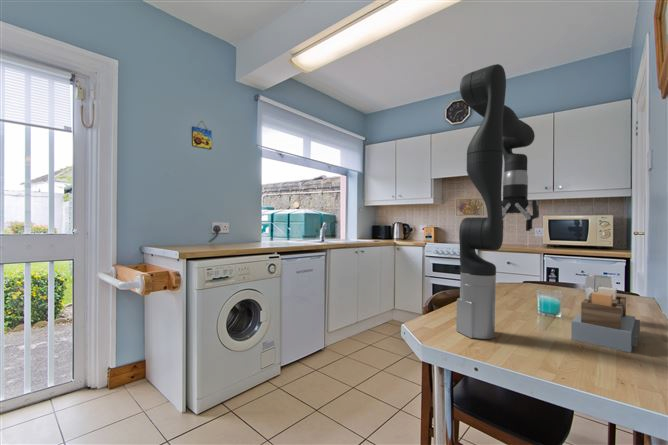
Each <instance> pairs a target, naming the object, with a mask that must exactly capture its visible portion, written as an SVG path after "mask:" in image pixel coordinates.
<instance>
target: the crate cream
mask: <svg viewBox="0 0 668 445" xmlns="http://www.w3.org/2000/svg"><path fill="white" fill-rule="evenodd" d="M598 292H600V293H607V294H613V299H616V297H617V296H618V295H617V292H618V291H617V288H613V287H612V288H607V287H598Z"/></svg>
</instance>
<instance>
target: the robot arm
mask: <svg viewBox="0 0 668 445" xmlns="http://www.w3.org/2000/svg"><path fill="white" fill-rule="evenodd" d="M506 88H507V76H506V71H505V68H504V67H503V66H502V65H501V64H500V63H499V64H498V63H497V64H492V65H488V66H486V67H482V68H480V69H477V70H474V71H472V72H469V73H467V74H465V75H463V76H462V78H461V80H460V82H459V93H460V97H461V99H462V101H463V102H464V103H465V104H466V105H467V106H468V107H469V108H470V109H472V110H473V111H475V112H476V113H477V114H478V115H480V116H481V117H482V118H483V119H482V122H481V123H480V124H479V126H478V128H477V130H476V132H475V133H474V135H473V137H472V138H471V139H470V142H469V144H468V146H467V149H466V173H467V176H468V178H469V179H470V181H471V183H472V184H473V185H474V187H475V188H476V190H477V191H478V192H479V194H480V196H481V197H482V200H483V202H484V205H485V208H486V214H487V217H465V218H463V219H462V220H461V222H460V225H459V232H458V234H459V236H458V238H459V263H460V264H459V265H460V266H459V267H460V279H459V283H460V284H459V297H458V298H456V320H455V321H456V326H455V330H456V332H458V333H460V334H462V335H464V336H466V337H467V338H470V339H480V340H489V339H494V338H495V334H496V331H495V330H496V290H497V288H496V285H497V283H496V281H497V267H496V265H495V264H494V263H493V262H490V261H487V260H486V259H484V258H482V257H481V256H479V255H478V254H477V251H476V250H479V251H498V250H500V249H501V248H502V245H503V242H504V218H505V217H506V216H507V215H508V214H522V215H523V216H524V217H525V219H526V220H525V231H526V232H530V231H531V230H532V229H533V220H535V219H539V217H540V210H539V209H540V208H539V201H538V200H537V199H536V200H535V199H533V200H530V201H529V200H528V197H529V196H528V194H529V192H528V190H529V188H528V186H529V175H528V156H527V155H526V154H525V153H514V152H513V149H518V148H519V149H520V148H526V147H529V146H530V145H531V144H533V143H534V140H535V136H536V135H535V131H534V129H533V127H531V126H530V125H529V124H528V123H526V122H525V121H523V120H521V119H519V117H518V116H517V114H516V113H515V111H514V110H513V109H512V108H511V107H509V106H508V105H505V102H506V100H505V99H506V93H507V92H506ZM503 161H504V162H503ZM503 164H504V166H503ZM503 167H504V168H503ZM503 169H504V170H503ZM503 171H504V172H503ZM528 206H530V207H531V208H532V214H530V212H529V211H528V210H527V207H528Z"/></svg>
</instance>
